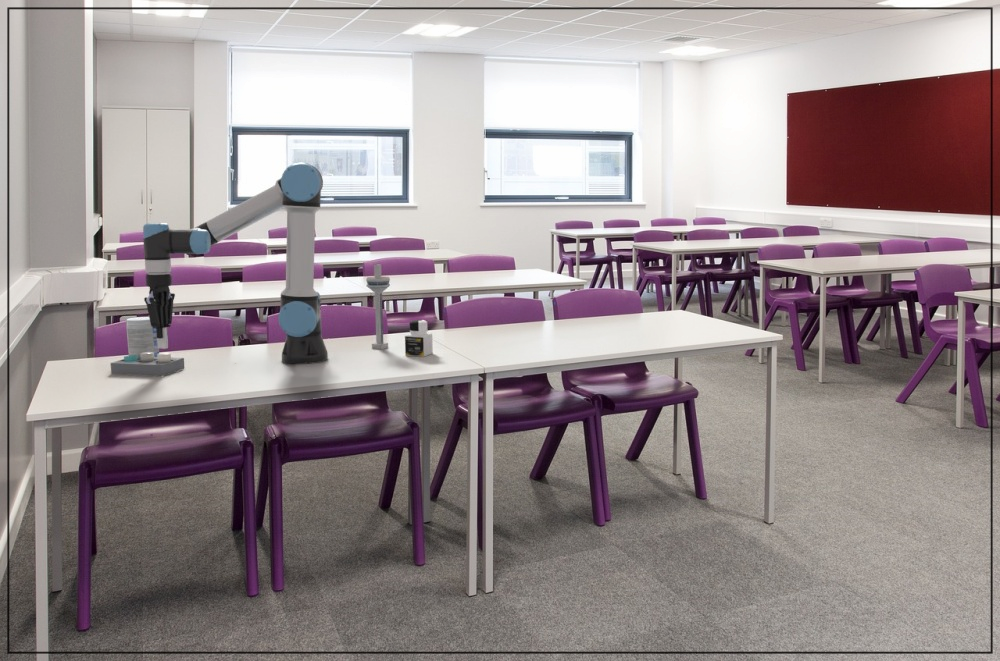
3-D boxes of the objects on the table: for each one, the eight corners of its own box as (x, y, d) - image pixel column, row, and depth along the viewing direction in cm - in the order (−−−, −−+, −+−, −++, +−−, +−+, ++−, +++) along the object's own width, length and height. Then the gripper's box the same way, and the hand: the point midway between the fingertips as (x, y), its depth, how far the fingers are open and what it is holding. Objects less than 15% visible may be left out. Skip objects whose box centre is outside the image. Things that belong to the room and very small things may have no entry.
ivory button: (174, 362, 282) (173, 352, 281) (166, 364, 278) (166, 355, 278) (162, 361, 283) (162, 352, 282) (155, 364, 279) (154, 354, 278)
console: (184, 368, 286) (183, 357, 285) (162, 376, 274) (161, 365, 274) (135, 366, 290) (134, 356, 289) (111, 374, 278) (110, 363, 278)
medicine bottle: (405, 355, 305) (404, 321, 303) (414, 352, 311) (413, 318, 309) (423, 357, 302) (422, 322, 300) (433, 353, 309) (432, 319, 307)
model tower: (383, 350, 315) (381, 266, 310) (363, 349, 318) (361, 265, 314) (396, 346, 322) (393, 264, 318) (376, 345, 326) (374, 263, 321)
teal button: (140, 364, 285) (140, 355, 284) (133, 367, 281) (132, 357, 280) (129, 364, 286) (129, 355, 285) (121, 366, 282) (121, 357, 281)
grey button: (157, 361, 283) (156, 352, 283) (149, 364, 279) (148, 354, 279) (146, 361, 284) (145, 351, 284) (138, 363, 280) (137, 354, 280)
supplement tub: (162, 362, 297) (159, 318, 294) (132, 365, 291) (129, 321, 289) (155, 357, 305) (152, 315, 302) (126, 361, 299) (123, 317, 297)
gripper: (160, 271, 283) (164, 344, 287) (134, 274, 270) (139, 351, 274) (181, 271, 281) (185, 345, 285) (156, 275, 269) (161, 352, 272)
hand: (162, 348), depth 280 cm, fingers closed
